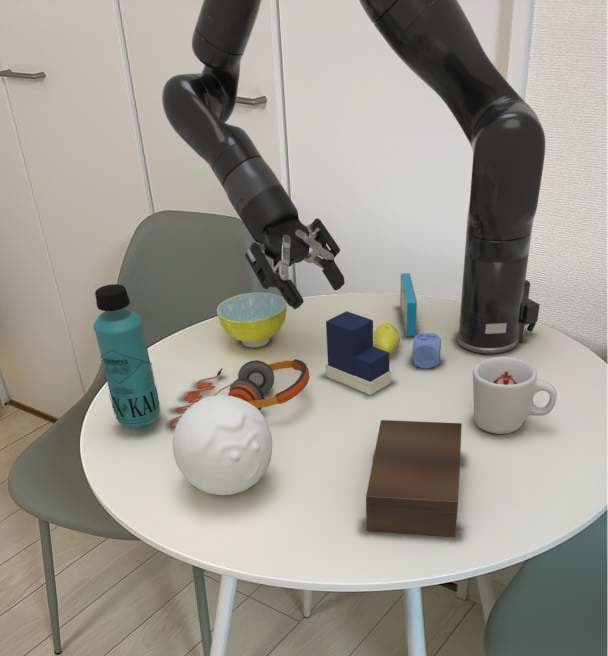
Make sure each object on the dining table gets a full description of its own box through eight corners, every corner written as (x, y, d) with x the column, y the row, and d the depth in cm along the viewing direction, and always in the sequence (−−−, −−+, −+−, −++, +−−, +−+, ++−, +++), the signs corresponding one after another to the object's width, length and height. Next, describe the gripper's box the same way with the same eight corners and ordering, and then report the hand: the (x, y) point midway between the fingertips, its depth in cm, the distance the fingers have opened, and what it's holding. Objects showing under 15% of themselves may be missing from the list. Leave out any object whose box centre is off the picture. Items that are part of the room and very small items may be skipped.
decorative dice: (438, 369, 114) (439, 344, 111) (411, 368, 115) (412, 343, 112) (440, 356, 117) (441, 332, 114) (414, 355, 118) (415, 332, 115)
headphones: (169, 445, 107) (300, 425, 100) (154, 413, 104) (288, 390, 97) (204, 387, 120) (323, 366, 113) (192, 357, 116) (313, 334, 110)
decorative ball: (213, 528, 88) (197, 442, 81) (165, 482, 96) (146, 400, 88) (295, 488, 93) (288, 404, 86) (243, 448, 101) (232, 367, 93)
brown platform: (380, 452, 98) (380, 419, 95) (458, 456, 96) (461, 423, 93) (366, 531, 86) (365, 496, 83) (455, 537, 84) (458, 501, 81)
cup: (553, 415, 102) (563, 361, 97) (547, 446, 97) (557, 391, 91) (473, 405, 105) (478, 353, 100) (463, 436, 100) (468, 382, 95)
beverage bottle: (120, 415, 110) (86, 280, 97) (165, 411, 110) (137, 276, 97) (115, 439, 105) (78, 301, 92) (163, 435, 105) (133, 296, 92)
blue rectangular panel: (400, 307, 132) (400, 272, 128) (408, 306, 132) (409, 272, 128) (406, 337, 123) (407, 301, 119) (415, 337, 123) (416, 300, 119)
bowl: (207, 349, 124) (202, 313, 120) (247, 322, 131) (243, 287, 127) (264, 363, 119) (260, 326, 115) (302, 333, 126) (300, 298, 122)
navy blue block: (326, 376, 114) (323, 320, 109) (346, 365, 117) (345, 310, 111) (370, 395, 109) (370, 337, 104) (391, 383, 112) (391, 326, 106)
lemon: (370, 360, 117) (370, 337, 115) (376, 338, 123) (376, 315, 121) (397, 361, 117) (397, 338, 114) (402, 338, 123) (402, 315, 120)
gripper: (232, 197, 102) (297, 299, 103) (306, 171, 110) (366, 267, 110) (213, 229, 109) (274, 325, 110) (284, 203, 116) (341, 293, 117)
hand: (320, 296), depth 110 cm, fingers open, 8 cm apart
